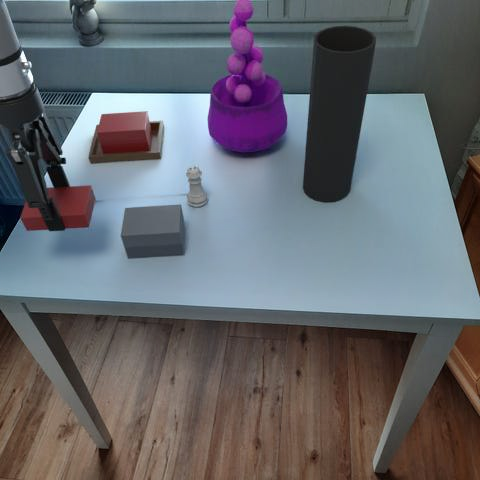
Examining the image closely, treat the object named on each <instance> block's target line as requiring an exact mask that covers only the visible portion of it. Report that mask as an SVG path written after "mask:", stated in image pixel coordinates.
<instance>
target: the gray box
mask: <svg viewBox="0 0 480 480" xmlns="http://www.w3.org/2000/svg"><path fill="white" fill-rule="evenodd" d="M120 238H121V242H122V244H123V247H124V250H125V253H126V257H127V259H128V260H130V259H144V258H161V257H177V256H185V247H186V246H185V243H186V223H185V219H184V212H183V207H182V204H181V203H179V204H165V205H151V206H150V205H149V206H134V207H124V213H123V218H122V225H121V231H120Z"/></svg>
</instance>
